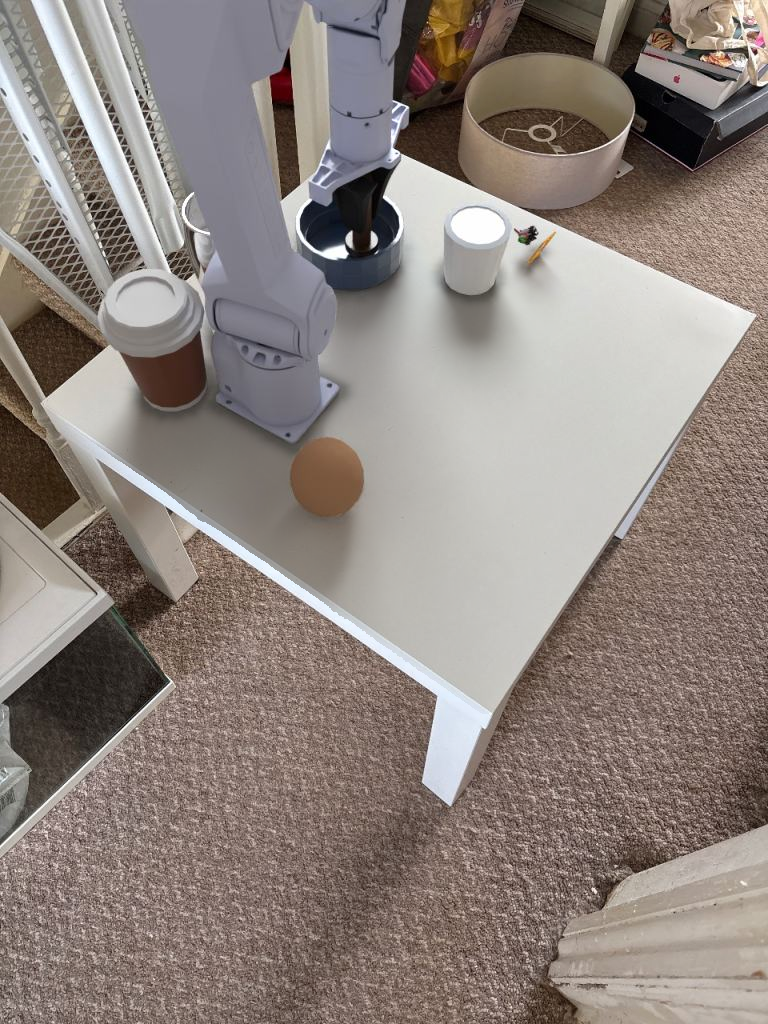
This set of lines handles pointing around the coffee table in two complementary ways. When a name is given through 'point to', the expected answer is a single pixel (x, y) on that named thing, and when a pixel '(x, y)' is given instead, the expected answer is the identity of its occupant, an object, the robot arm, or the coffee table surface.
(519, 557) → the coffee table surface
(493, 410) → the coffee table surface
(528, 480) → the coffee table surface
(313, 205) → the bowl
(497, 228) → the white cylinder
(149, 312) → the coffee cup
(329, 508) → the egg
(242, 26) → the robot arm
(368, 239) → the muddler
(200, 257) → the beer glass
